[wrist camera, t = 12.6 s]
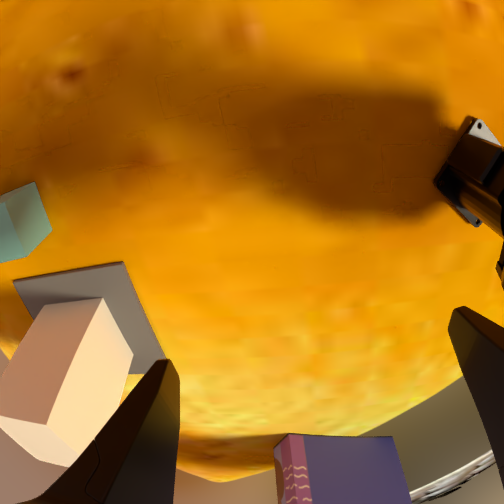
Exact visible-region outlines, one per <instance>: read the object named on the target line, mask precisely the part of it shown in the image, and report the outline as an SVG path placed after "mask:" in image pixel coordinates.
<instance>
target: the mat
mask: <svg viewBox="0 0 504 504" xmlns="http://www.w3.org/2000/svg"><path fill="white" fill-rule="evenodd" d="M13 284H14V286H15V288H16V290H17V292H18V294H19V295H20V297H21V299H22V301H23V302H24V304H25V306H26V308H27V309H28V311H29V313H30V315H31V316H32V318H33V319H34V320H35V319H36V317H37V316H38V314H39V312H40V311H41V309H42V308H43V306H44V305H48V304H57V303H65V302H73V301H80V300H88V299H96V298H103V299H104V301H105V303H106V305H107V307H108V309H109V311H110V313H111V314H112V316H113V318H114V320H115V322H116V324H117V326H118V328H119V330H120V331H121V333H122V335H123V337H124V339H125V340H126V342H127V344H128V346H129V348H130V349H131V351H132V353H133V354H134V355H133V358H132V361H131V365H130V368H129V372H128V374H146V372H147V371H148V370H149V369H150V367H151V366H152V365H153V364H154V362H155V361H156V360H158V359H166V357H165V355H164V353H163V351H162V349H161V346H160V344H159V342H158V340H157V338H156V336H155V334H154V332H153V330H152V328H151V325H150V323H149V321H148V319H147V317H146V314H145V312H144V310H143V308H142V305H141V303H140V301H139V299H138V296H137V294H136V291H135V289H134V287H133V284H132V282H131V280H130V277H129V275H128V272H127V270H126V267H125V265H124V262H118V263H112V264H107V265H101V266H95V267H89V268H83V269H77V270H71V271H65V272H60V273H54V274H48V275H42V276H37V277H31V278H25V279H20V280H15V281H14V282H13Z"/></svg>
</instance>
